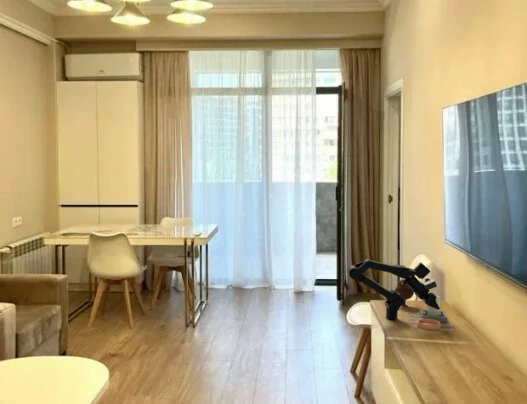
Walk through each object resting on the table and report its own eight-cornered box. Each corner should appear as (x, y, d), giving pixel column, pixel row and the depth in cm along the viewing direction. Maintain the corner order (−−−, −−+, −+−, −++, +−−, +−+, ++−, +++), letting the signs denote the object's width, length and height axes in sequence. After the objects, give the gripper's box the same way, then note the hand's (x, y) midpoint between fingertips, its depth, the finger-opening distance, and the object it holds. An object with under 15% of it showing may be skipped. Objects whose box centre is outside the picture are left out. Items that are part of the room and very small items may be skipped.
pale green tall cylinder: (426, 315, 307) (427, 293, 306) (438, 316, 307) (439, 294, 305) (427, 318, 301) (428, 296, 300) (439, 319, 301) (441, 297, 300)
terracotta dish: (415, 321, 298) (415, 318, 297) (438, 323, 296) (438, 319, 296) (417, 328, 287) (418, 324, 287) (441, 330, 285) (441, 326, 285)
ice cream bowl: (393, 308, 324) (394, 281, 323) (394, 304, 335) (395, 277, 334) (413, 310, 322) (414, 282, 321) (413, 305, 332) (414, 279, 332)
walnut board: (408, 314, 314) (408, 312, 314) (445, 316, 311) (445, 314, 311) (413, 331, 286) (413, 329, 286) (454, 333, 283) (454, 331, 283)
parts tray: (419, 314, 311) (419, 309, 311) (443, 316, 309) (443, 311, 309) (422, 321, 299) (422, 316, 299) (446, 322, 297) (447, 317, 297)
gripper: (433, 278, 292) (454, 300, 294) (421, 270, 311) (441, 291, 313) (416, 294, 293) (437, 316, 294) (406, 285, 311) (426, 305, 313)
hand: (436, 306), depth 304 cm, fingers open, 9 cm apart
